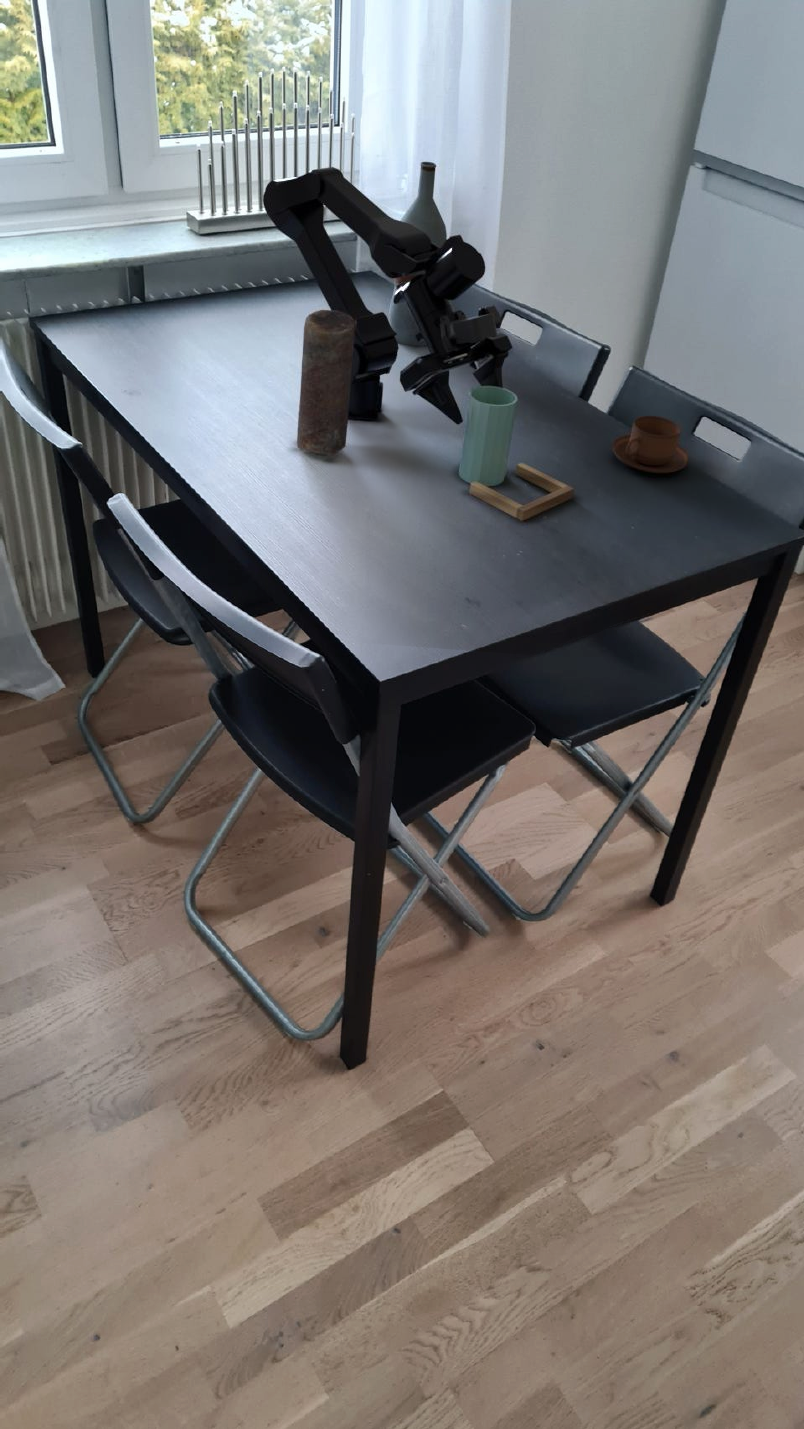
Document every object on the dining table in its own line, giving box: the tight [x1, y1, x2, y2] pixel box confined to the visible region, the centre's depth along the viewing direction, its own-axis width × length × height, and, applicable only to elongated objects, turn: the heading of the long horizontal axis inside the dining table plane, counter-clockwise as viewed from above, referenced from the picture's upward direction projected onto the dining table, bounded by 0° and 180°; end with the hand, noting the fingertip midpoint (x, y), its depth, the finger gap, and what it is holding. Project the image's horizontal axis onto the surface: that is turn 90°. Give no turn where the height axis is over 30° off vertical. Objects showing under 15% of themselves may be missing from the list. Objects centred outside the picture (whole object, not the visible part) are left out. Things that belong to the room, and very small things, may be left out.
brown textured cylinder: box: [296, 309, 355, 457], centre depth 162 cm, size 8×7×20 cm
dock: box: [468, 462, 575, 522], centre depth 162 cm, size 10×12×2 cm
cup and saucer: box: [612, 415, 690, 474], centre depth 173 cm, size 12×12×6 cm
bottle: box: [388, 161, 448, 347], centre depth 198 cm, size 9×9×30 cm
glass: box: [458, 385, 519, 487], centre depth 162 cm, size 7×7×12 cm
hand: (481, 415), depth 161 cm, fingers open, 9 cm apart
